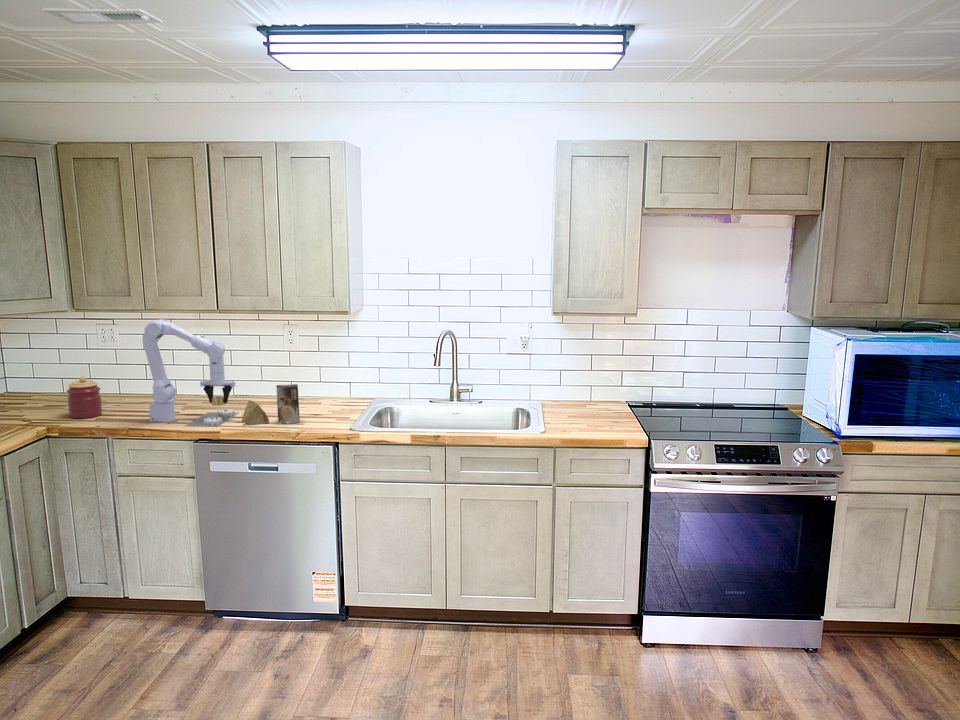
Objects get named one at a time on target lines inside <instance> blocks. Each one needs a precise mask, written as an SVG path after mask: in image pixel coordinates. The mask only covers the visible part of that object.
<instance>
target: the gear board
mask: <svg viewBox="0 0 960 720" xmlns="http://www.w3.org/2000/svg"><path fill="white" fill-rule="evenodd" d="M237 415H239V412H236V411H235V409H232V408H229V409H228V408H225V409H220V410H217V412H215V411H211V412H207V413H206V412H205V414H203V415H202V416H200V417H198V418H196V419H194V420H193V421H191V422H189V423H187V424H186V425H185V427H191V428H193V427H196V428H197V427H201V428H203V427H204V428H218V427H220V426H222V425H223V424H225V423H226V422H228V421H229V420H231V419H232V418H234V417H235V416H237Z"/></svg>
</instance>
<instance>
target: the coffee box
mask: <svg viewBox="0 0 960 720" xmlns="http://www.w3.org/2000/svg"><path fill="white" fill-rule="evenodd" d="M275 387H276V403H277V405H276V406H277V421H278V422H277V424H278V423H286V424H288V423H287V422H301V420H300V403H299V402H300V401H299V385H298V384H295V383H294V384H276V386H275Z"/></svg>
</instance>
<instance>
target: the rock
mask: <svg viewBox="0 0 960 720" xmlns="http://www.w3.org/2000/svg"><path fill="white" fill-rule="evenodd" d="M243 412H244V413H243V415H242V417H241V419H242V420H241V423H242V426H253V425H262V424H269V423H270V420H269V416H268V415H267V413H266V412H265V411H264V409H262V408H261V406H260V405H259V404H257V402H255V401H253V400H248V402H247V404H246V406H245V408H244V411H243ZM252 424H253V425H252Z"/></svg>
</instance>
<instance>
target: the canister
mask: <svg viewBox="0 0 960 720" xmlns="http://www.w3.org/2000/svg"><path fill="white" fill-rule="evenodd" d="M78 379H79V380H76V381H72V382H71V383H70V384H68V385H67V386H68V389H67V390H66V393H67V398H66V399H67V406H68V412H67V413H68V417H69V418H70V417H71V418H70V419H73V418H85V419H91V418H90V417H92V418H96V416H97V417H99V415H100V416H101V415H102V414H103V407H102V395H101V393H100V391H101V387H100V386H98V385H99V383H98V382H96V381H94V380H92V379H87V378H86V377H85V376H80V377H79V378H78Z"/></svg>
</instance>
